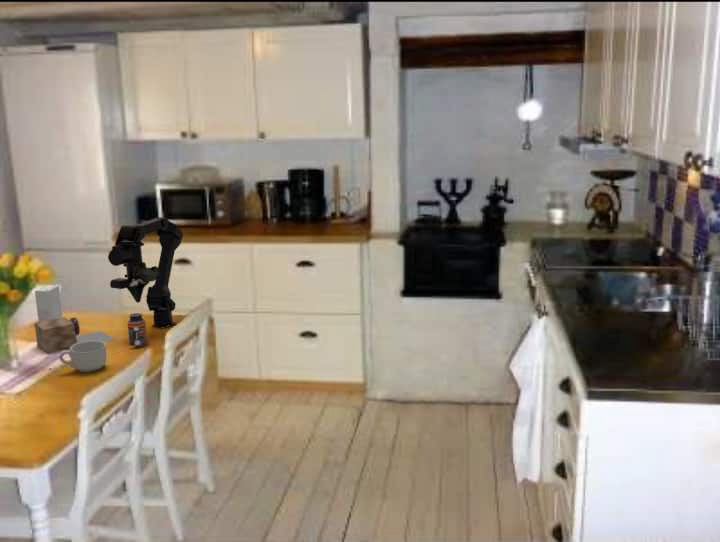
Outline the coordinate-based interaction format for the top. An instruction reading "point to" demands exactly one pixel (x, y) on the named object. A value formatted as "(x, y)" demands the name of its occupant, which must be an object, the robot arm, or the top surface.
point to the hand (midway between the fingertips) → (138, 302)
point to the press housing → (55, 335)
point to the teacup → (86, 355)
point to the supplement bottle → (137, 330)
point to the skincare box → (48, 303)
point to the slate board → (88, 337)
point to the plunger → (75, 325)
